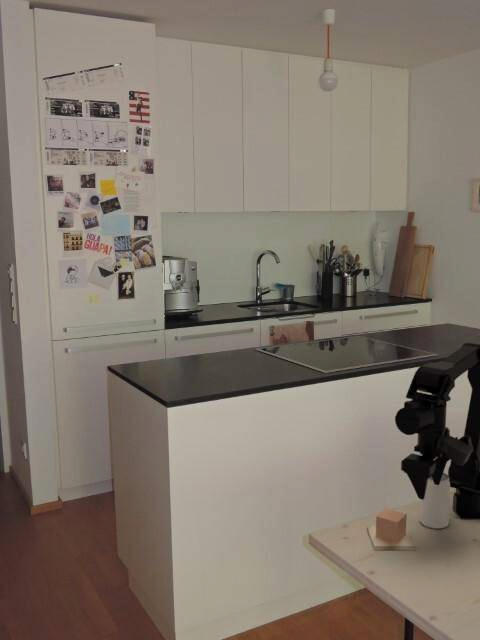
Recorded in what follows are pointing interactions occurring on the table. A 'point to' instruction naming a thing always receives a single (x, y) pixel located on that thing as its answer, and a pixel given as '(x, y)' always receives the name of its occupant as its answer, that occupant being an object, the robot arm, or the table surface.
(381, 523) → the cube
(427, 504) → the can
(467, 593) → the table surface
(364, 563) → the table surface
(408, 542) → the coaster
